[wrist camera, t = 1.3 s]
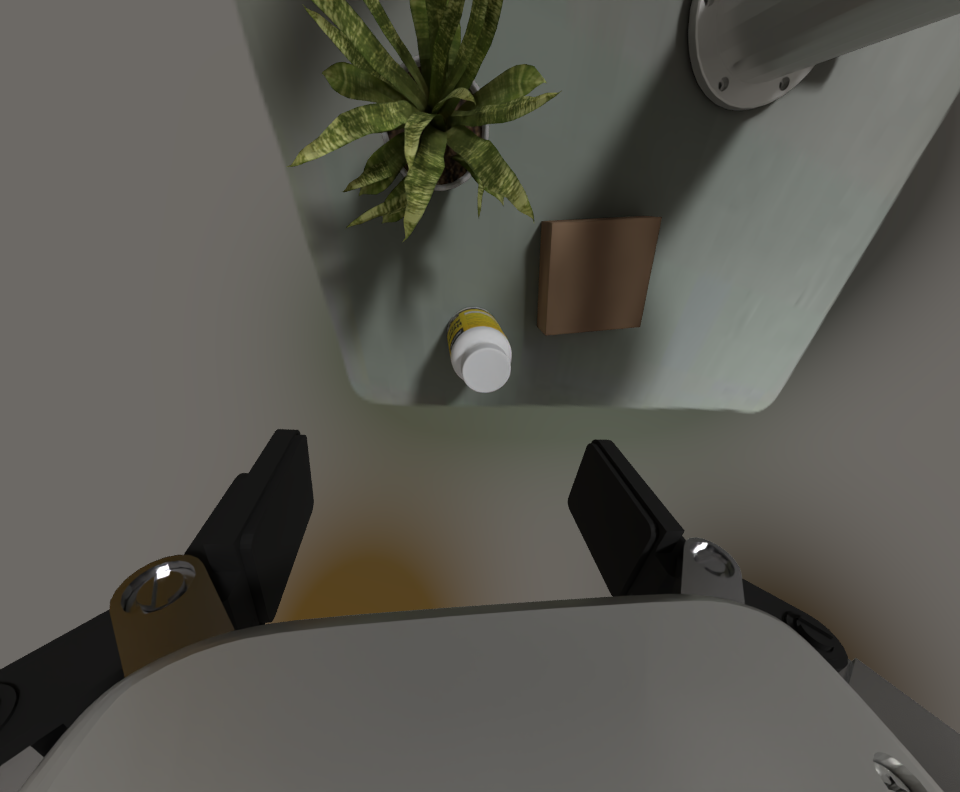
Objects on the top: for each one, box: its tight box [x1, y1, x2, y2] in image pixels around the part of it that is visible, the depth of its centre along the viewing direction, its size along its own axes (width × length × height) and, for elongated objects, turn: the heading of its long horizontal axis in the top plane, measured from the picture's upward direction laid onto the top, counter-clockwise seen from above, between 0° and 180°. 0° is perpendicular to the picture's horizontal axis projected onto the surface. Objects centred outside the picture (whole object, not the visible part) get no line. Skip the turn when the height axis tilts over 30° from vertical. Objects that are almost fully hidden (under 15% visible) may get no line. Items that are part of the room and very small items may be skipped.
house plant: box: [286, 0, 561, 241], centre depth 20 cm, size 14×14×16 cm
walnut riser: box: [537, 216, 662, 335], centre depth 33 cm, size 10×10×3 cm
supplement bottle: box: [447, 307, 512, 393], centre depth 32 cm, size 5×5×10 cm
